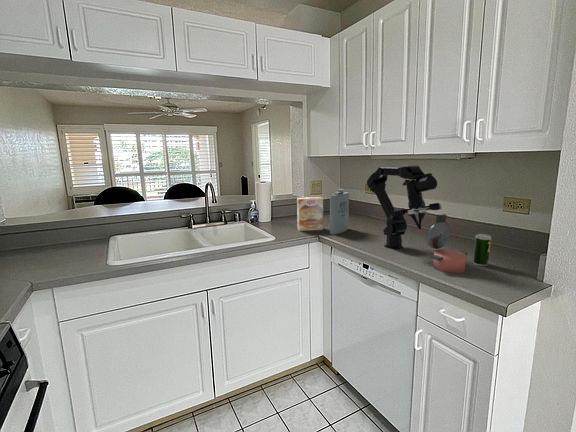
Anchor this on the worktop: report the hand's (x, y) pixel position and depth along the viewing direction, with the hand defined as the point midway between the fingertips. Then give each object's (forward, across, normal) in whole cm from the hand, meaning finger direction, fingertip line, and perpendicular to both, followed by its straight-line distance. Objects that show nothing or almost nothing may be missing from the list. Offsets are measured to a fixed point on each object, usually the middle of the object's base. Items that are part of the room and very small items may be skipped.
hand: (420, 229), depth 134 cm
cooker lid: (+2, -8, +6) cm, 11 cm away
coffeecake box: (-7, +67, -23) cm, 71 cm away
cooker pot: (+16, -10, +7) cm, 20 cm away
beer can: (+17, -20, -4) cm, 27 cm away
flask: (-3, +49, -27) cm, 56 cm away
